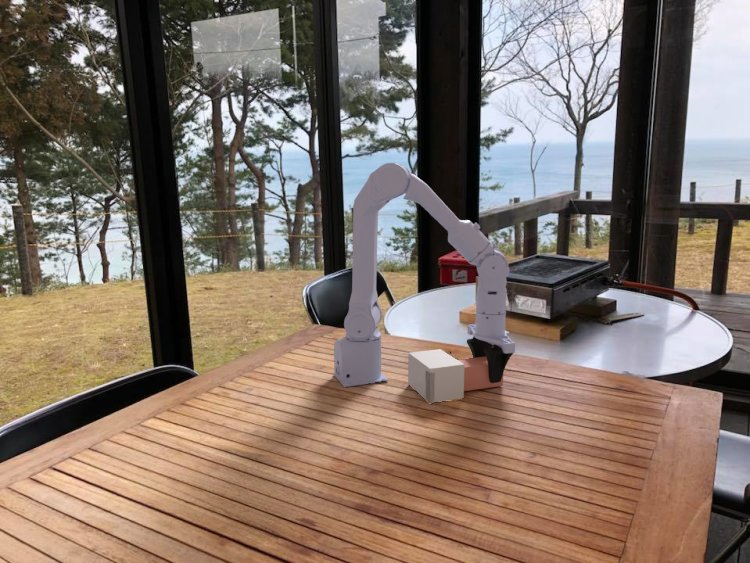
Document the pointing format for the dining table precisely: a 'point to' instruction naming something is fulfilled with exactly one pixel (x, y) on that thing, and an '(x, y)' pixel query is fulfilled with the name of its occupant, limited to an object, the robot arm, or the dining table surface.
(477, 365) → the pink cuboid
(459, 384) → the off-white grooved box
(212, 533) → the dining table surface
